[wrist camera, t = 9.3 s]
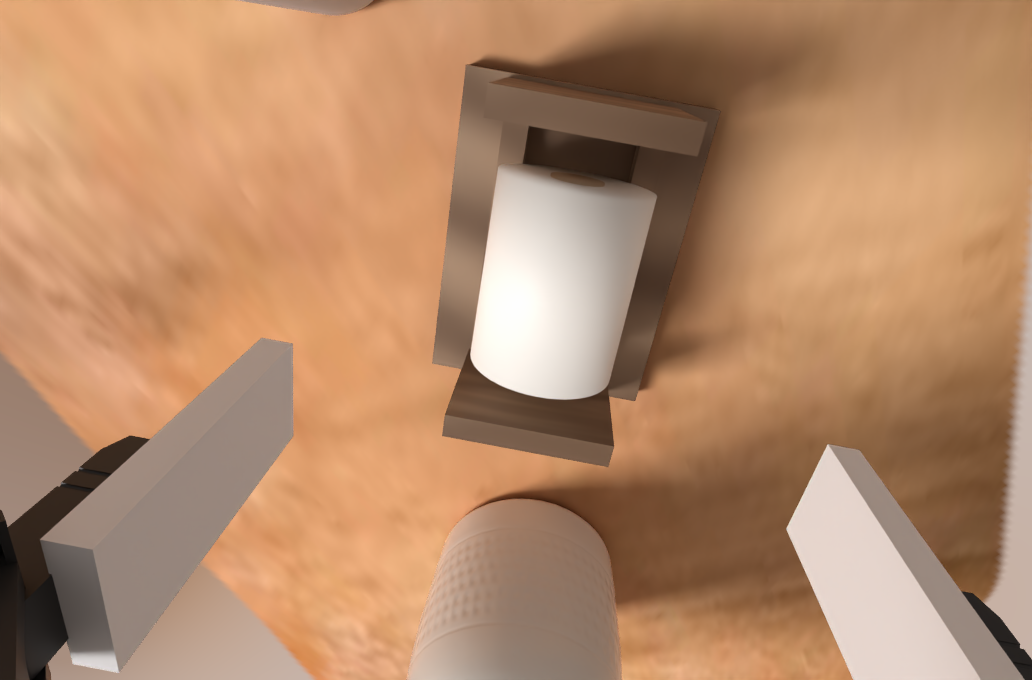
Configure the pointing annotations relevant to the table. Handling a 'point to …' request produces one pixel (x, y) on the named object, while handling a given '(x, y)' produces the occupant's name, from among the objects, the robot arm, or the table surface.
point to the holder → (582, 147)
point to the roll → (558, 279)
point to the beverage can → (318, 5)
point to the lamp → (520, 599)
